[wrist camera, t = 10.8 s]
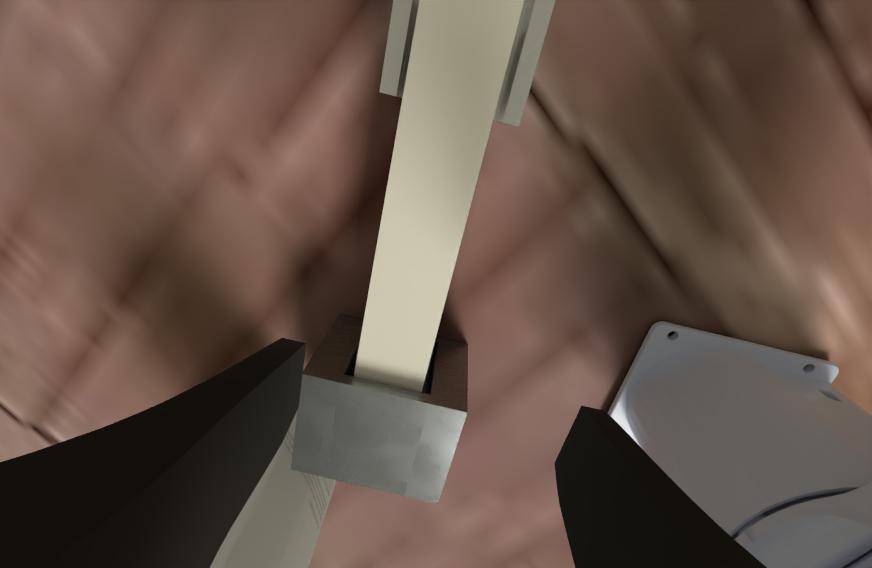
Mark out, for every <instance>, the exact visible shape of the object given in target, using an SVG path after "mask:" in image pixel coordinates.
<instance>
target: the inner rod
mask: <svg viewBox="0 0 872 568" xmlns="http://www.w3.org/2000/svg"><path fill="white" fill-rule="evenodd" d="M523 4H524V0H420V1H419V7H418V12H417V18H416V24H415V29H414V35H413V41H412V47H411V52H410V58H409V64H408V69H407V75H406V81H405V86H404V92H403V98H402V104H401V109H400V115H399V121H398V126H397V132H396V138H395V144H394V149H393V155H392V161H391V166H390V172H389V178H388V184H387V189H386V195H385V201H384V206H383V212H382V218H381V223H380V229H379V235H378V241H377V246H376V252H375V258H374V263H373V269H372V275H371V281H370V286H369V292H368V298H367V303H366V309H365V315H364V320H363V326H362V332H361V338H360V343H359V349H358V355H357V360H356V366H355V372H354V377H358V378H362V379H367V380H371V381H375V382H379V383H384V384H388V385H392V386H396V387H401V388H405V389H409V390H413V391H418V392H422V389H423V385H424V381H425V377H426V373H427V370H428V366H429V362H430V358H431V354H432V351H433V347H434V343H435V339H436V335H437V331H438V328H439V324H440V320H441V316H442V312H443V309H444V305H445V301H446V297H447V293H448V290H449V286H450V282H451V278H452V274H453V270H454V267H455V263H456V259H457V255H458V251H459V248H460V244H461V240H462V236H463V232H464V229H465V225H466V221H467V217H468V213H469V209H470V206H471V202H472V198H473V194H474V190H475V187H476V183H477V179H478V175H479V171H480V168H481V164H482V160H483V156H484V152H485V149H486V145H487V141H488V137H489V133H490V129H491V126H492V122H493V118H494V114H495V110H496V107H497V103H498V99H499V95H500V91H501V88H502V84H503V80H504V76H505V72H506V68H507V65H508V61H509V57H510V53H511V49H512V46H513V42H514V38H515V34H516V30H517V27H518V23H519V19H520V15H521V11H522V7H523Z"/></svg>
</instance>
